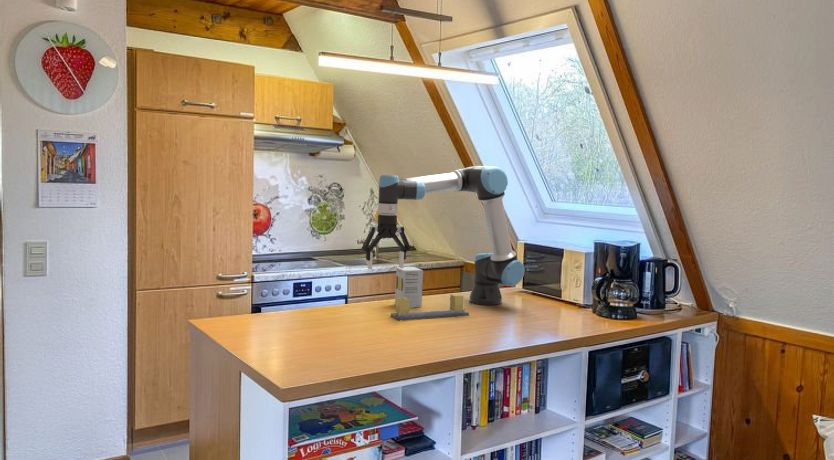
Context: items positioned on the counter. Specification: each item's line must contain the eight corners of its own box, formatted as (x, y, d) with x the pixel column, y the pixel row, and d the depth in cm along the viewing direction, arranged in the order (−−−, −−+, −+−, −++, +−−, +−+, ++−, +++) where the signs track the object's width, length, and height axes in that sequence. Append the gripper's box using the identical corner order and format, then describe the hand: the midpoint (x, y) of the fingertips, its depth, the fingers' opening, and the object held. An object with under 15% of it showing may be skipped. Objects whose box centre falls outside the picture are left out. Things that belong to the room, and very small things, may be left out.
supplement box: (394, 304, 282) (395, 267, 281) (413, 303, 286) (414, 266, 285) (402, 308, 274) (404, 270, 272) (422, 307, 278) (423, 269, 276)
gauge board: (390, 316, 259) (391, 295, 258) (458, 311, 273) (459, 292, 272) (399, 320, 251) (399, 299, 250) (468, 315, 265) (469, 295, 264)
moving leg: (392, 312, 258) (393, 295, 258) (401, 312, 260) (402, 295, 259) (399, 316, 252) (400, 299, 251) (408, 315, 254) (409, 298, 253)
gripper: (361, 214, 239) (359, 270, 241) (420, 215, 250) (418, 268, 251) (354, 213, 245) (352, 267, 247) (412, 214, 256) (410, 266, 258)
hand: (385, 268), depth 249 cm, fingers open, 13 cm apart
